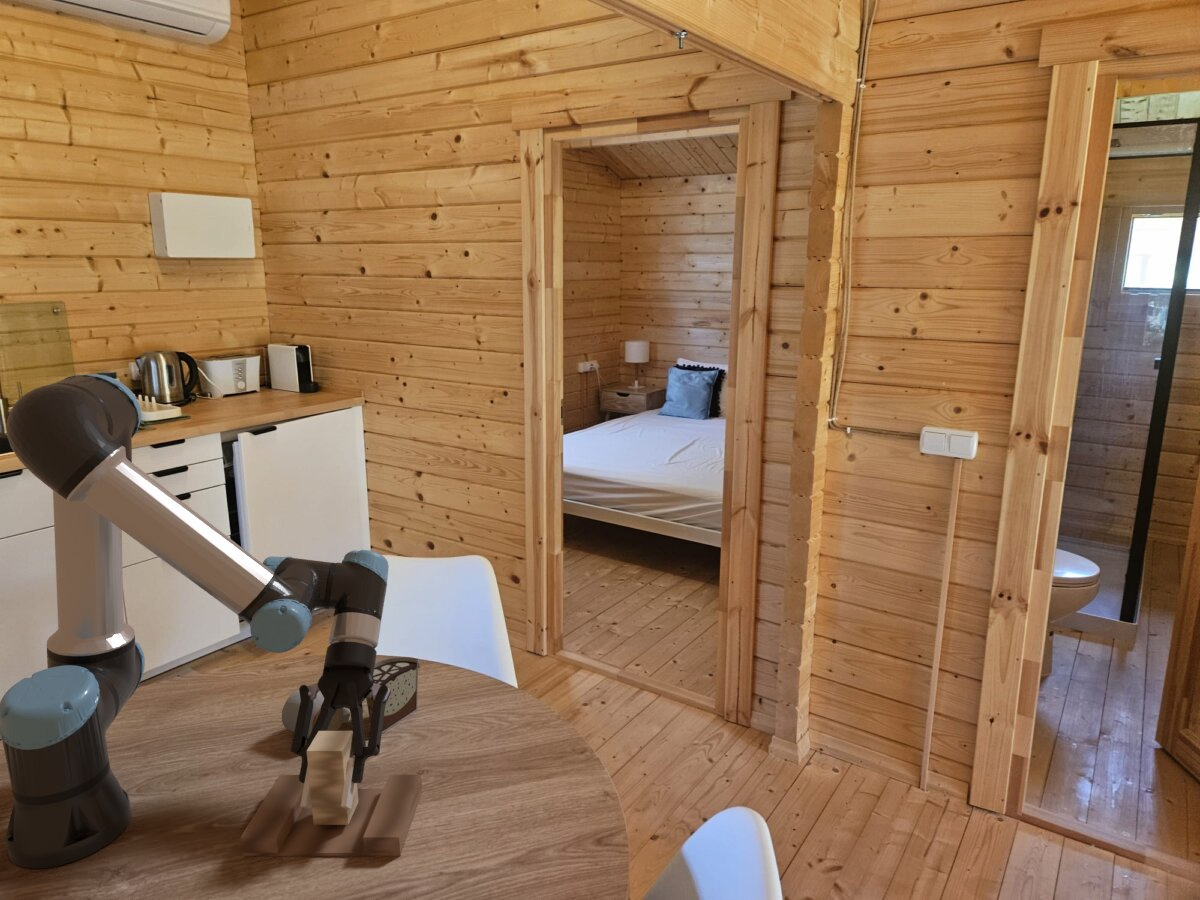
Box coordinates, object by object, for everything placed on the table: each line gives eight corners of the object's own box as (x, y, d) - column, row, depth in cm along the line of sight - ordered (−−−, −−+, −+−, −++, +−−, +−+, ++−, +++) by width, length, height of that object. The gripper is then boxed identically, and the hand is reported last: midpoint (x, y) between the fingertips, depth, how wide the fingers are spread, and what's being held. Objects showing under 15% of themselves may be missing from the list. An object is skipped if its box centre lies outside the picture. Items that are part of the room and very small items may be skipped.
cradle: (242, 856, 112) (240, 837, 112) (281, 791, 126) (279, 774, 125) (400, 855, 112) (399, 837, 112) (422, 791, 126) (421, 774, 125)
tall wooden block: (313, 824, 116) (306, 751, 114) (325, 802, 121) (318, 730, 118) (348, 824, 116) (342, 750, 114) (358, 802, 121) (352, 730, 118)
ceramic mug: (315, 751, 136) (312, 710, 135) (282, 738, 140) (278, 697, 138) (361, 722, 145) (359, 683, 144) (329, 710, 149) (326, 672, 148)
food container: (398, 697, 153) (395, 649, 151) (422, 706, 150) (420, 657, 148) (348, 729, 143) (344, 678, 140) (373, 739, 140) (369, 687, 137)
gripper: (414, 654, 130) (395, 811, 117) (302, 654, 130) (271, 811, 117) (405, 639, 123) (383, 803, 111) (287, 639, 123) (252, 803, 111)
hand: (326, 807), depth 114 cm, fingers closed on tall wooden block, 5 cm apart
